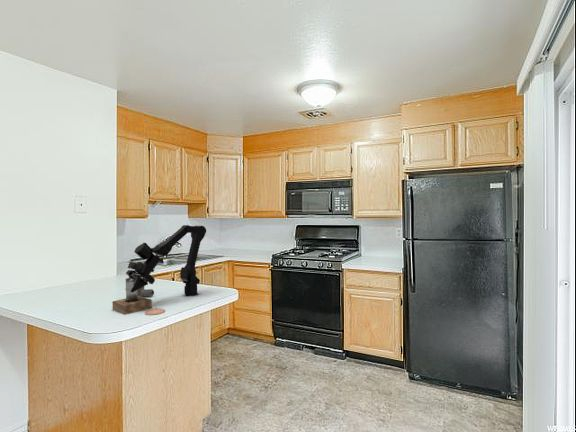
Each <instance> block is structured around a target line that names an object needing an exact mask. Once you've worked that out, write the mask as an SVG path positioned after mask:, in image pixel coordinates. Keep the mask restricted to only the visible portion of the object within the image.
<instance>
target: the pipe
mask: <svg viewBox="0 0 576 432" xmlns="http://www.w3.org/2000/svg"><path fill="white" fill-rule="evenodd" d="M154 295H155V291H154V289H153V288H150V289H149V288H148V289H147V288H146V289H145V286H143V287H141V288H140V289H138V290H137V296H141V297H153V296H154Z"/></svg>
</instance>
